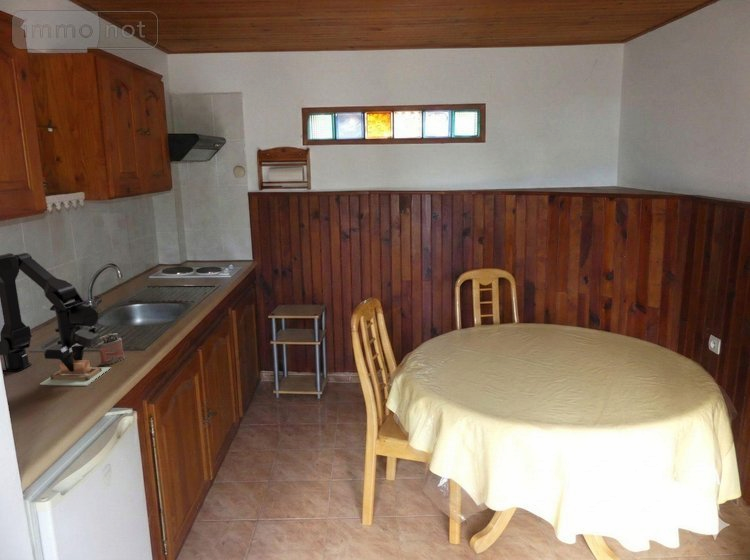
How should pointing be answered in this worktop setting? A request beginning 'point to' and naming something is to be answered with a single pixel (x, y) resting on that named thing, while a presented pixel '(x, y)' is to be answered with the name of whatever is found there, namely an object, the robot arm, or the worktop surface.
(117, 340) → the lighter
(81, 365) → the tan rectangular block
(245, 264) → the worktop surface
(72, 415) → the worktop surface
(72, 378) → the mat
